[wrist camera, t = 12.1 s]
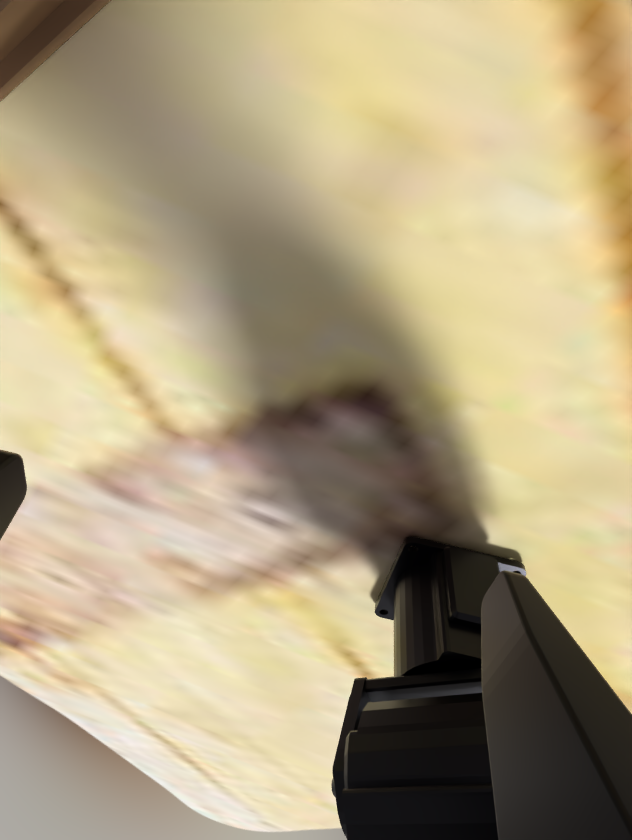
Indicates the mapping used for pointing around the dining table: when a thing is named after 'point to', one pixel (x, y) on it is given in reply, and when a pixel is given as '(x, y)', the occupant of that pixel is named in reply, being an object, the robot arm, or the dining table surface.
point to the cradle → (37, 33)
